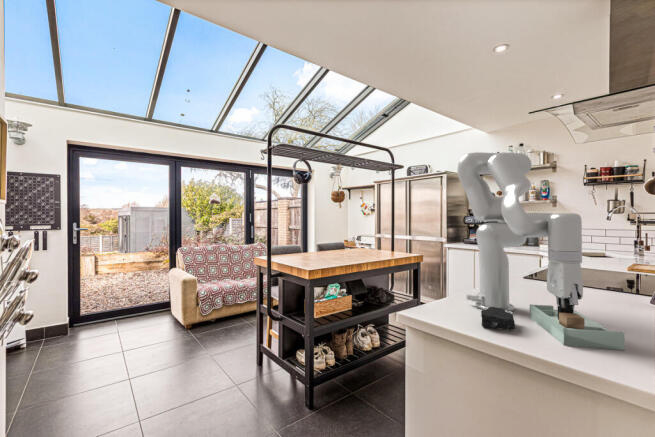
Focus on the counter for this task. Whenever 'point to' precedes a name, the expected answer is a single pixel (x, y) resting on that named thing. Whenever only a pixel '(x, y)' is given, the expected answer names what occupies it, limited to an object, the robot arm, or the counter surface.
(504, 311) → the rock
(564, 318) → the walnut block
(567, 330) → the tray
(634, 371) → the counter surface
